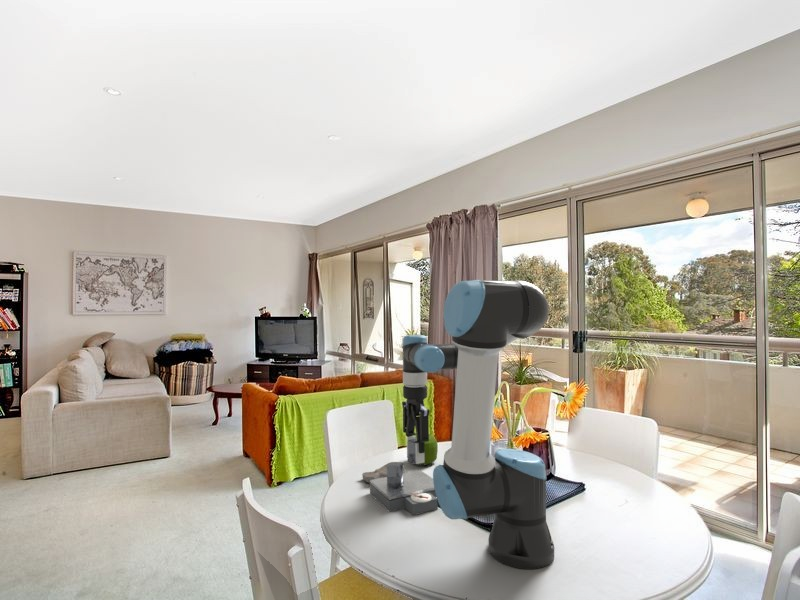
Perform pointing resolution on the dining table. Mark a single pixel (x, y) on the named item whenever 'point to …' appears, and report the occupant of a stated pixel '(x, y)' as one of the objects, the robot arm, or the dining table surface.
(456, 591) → the dining table surface
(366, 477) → the stone
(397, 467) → the cylinder
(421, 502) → the scale
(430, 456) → the apple
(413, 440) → the cylinder
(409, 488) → the platform
